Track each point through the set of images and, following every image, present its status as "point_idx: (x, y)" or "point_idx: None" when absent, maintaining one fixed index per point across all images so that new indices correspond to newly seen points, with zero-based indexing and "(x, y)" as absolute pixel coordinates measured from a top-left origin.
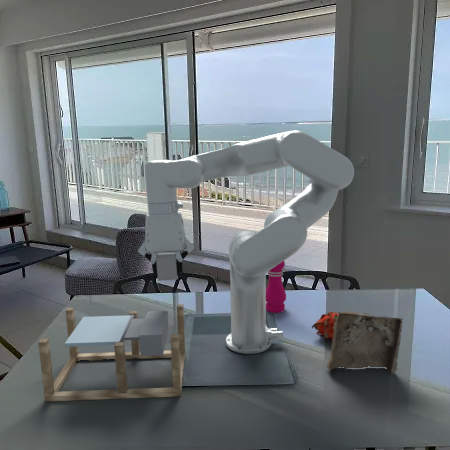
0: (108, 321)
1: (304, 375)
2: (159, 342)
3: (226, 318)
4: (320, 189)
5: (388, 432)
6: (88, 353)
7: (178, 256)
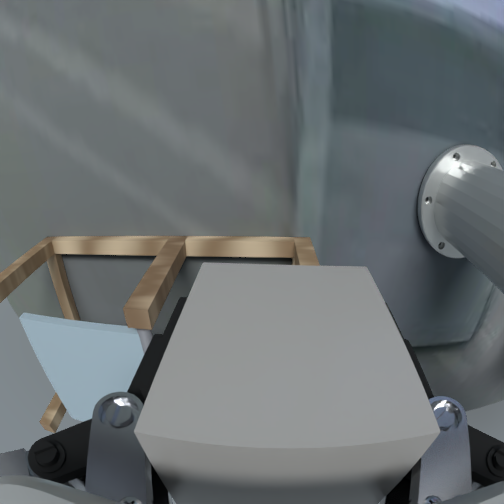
0: (93, 359)
1: (491, 320)
2: None
3: (431, 35)
4: None
5: (487, 398)
6: (69, 242)
7: (397, 498)
